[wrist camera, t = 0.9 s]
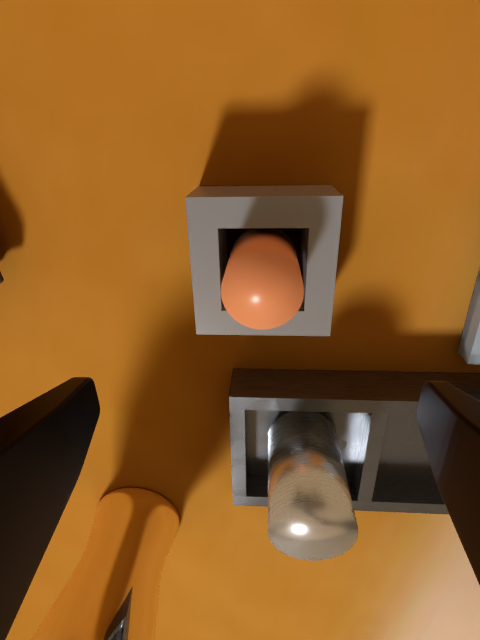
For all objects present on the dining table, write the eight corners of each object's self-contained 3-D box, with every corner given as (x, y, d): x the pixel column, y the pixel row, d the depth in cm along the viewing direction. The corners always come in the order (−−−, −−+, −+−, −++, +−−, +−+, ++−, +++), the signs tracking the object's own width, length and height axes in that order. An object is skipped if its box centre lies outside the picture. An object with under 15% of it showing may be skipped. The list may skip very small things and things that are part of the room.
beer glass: (101, 470, 26) (-70, 821, 13) (197, 499, 27) (129, 862, 14) (85, 530, 29) (-68, 865, 16) (171, 555, 30) (95, 896, 17)
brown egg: (298, 226, 17) (306, 252, 13) (295, 290, 18) (302, 330, 14) (229, 226, 17) (218, 252, 13) (231, 290, 18) (222, 328, 15)
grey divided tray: (514, 374, 21) (544, 404, 19) (476, 479, 25) (498, 516, 22) (232, 368, 22) (228, 396, 20) (236, 470, 26) (233, 504, 23)
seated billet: (339, 411, 22) (363, 504, 16) (333, 463, 23) (353, 562, 18) (268, 409, 22) (268, 500, 16) (267, 460, 24) (267, 558, 18)
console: (331, 184, 17) (343, 195, 14) (321, 306, 20) (330, 336, 17) (198, 186, 18) (185, 197, 15) (206, 305, 20) (196, 334, 17)
